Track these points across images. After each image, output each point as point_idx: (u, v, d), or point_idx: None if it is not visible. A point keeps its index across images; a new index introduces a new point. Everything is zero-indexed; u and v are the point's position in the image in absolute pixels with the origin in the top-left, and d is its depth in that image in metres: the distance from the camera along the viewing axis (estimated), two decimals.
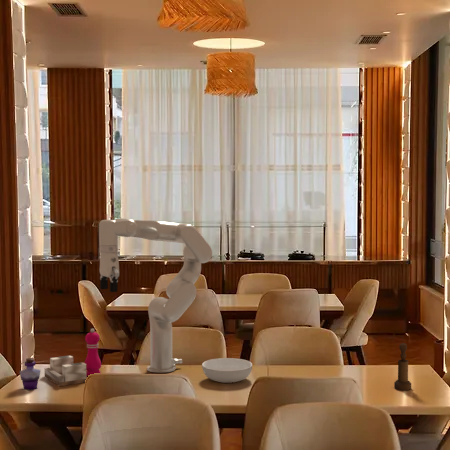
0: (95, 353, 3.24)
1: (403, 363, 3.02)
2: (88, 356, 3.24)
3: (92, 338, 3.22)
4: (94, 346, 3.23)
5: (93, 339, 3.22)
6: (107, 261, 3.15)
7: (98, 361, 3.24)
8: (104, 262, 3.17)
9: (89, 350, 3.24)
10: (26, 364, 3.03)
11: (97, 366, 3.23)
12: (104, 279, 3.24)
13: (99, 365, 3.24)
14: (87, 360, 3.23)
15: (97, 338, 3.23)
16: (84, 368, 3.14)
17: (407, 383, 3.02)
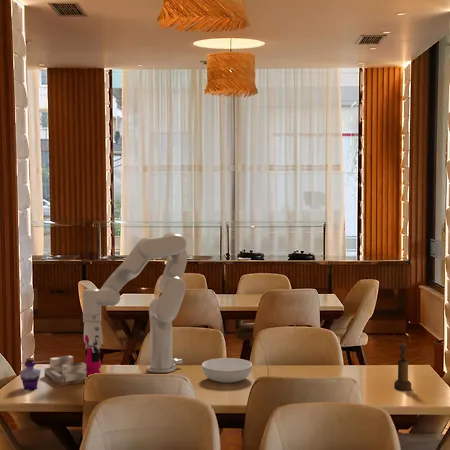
0: None
1: (403, 363, 3.02)
2: (88, 356, 3.24)
3: None
4: None
5: None
6: (91, 330, 3.20)
7: None
8: (87, 331, 3.22)
9: (89, 350, 3.24)
10: (26, 364, 3.03)
11: (97, 366, 3.23)
12: None
13: (99, 365, 3.24)
14: (87, 360, 3.23)
15: None
16: (84, 368, 3.14)
17: (407, 383, 3.02)
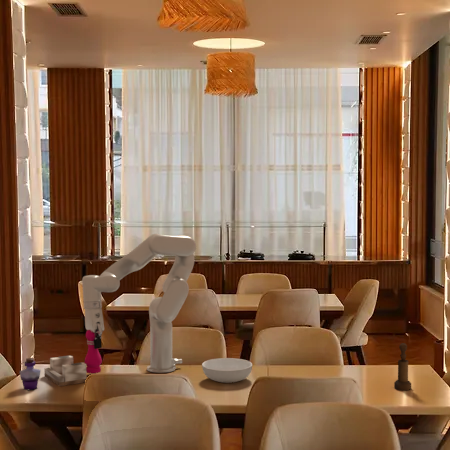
0: (95, 349, 3.24)
1: (403, 363, 3.02)
2: (88, 352, 3.24)
3: (93, 334, 3.22)
4: None
5: (93, 335, 3.22)
6: (92, 316, 3.20)
7: (98, 357, 3.24)
8: (89, 318, 3.22)
9: (89, 346, 3.23)
10: (26, 364, 3.03)
11: (97, 362, 3.23)
12: None
13: (99, 361, 3.24)
14: (88, 357, 3.23)
15: None
16: (84, 368, 3.14)
17: (407, 383, 3.02)
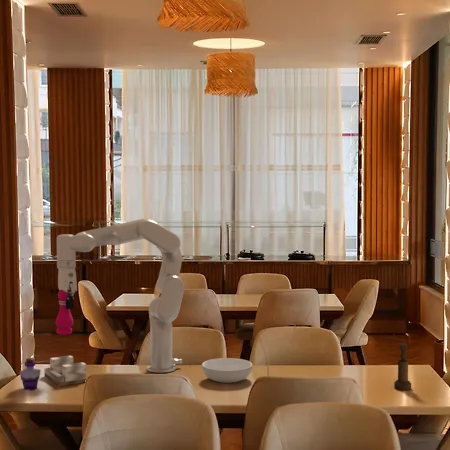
0: (67, 310, 3.17)
1: (403, 363, 3.02)
2: (60, 313, 3.16)
3: (65, 294, 3.15)
4: None
5: None
6: (65, 276, 3.13)
7: (70, 318, 3.17)
8: (61, 277, 3.15)
9: (61, 307, 3.16)
10: (26, 364, 3.03)
11: (69, 323, 3.16)
12: None
13: (71, 322, 3.17)
14: (59, 317, 3.16)
15: None
16: (84, 368, 3.14)
17: (407, 383, 3.02)
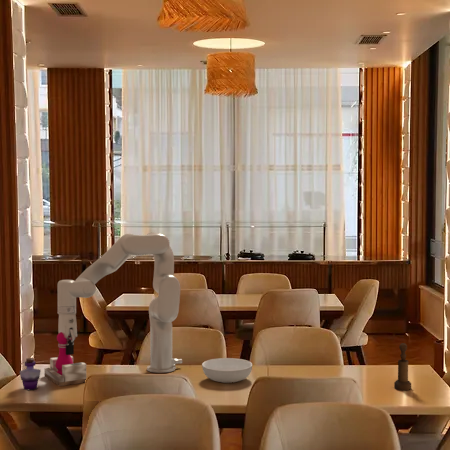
0: None
1: (403, 363, 3.02)
2: (59, 356, 3.17)
3: (64, 337, 3.16)
4: None
5: (64, 339, 3.16)
6: (65, 322, 3.14)
7: (70, 361, 3.18)
8: (62, 323, 3.16)
9: (60, 350, 3.17)
10: (26, 364, 3.03)
11: None
12: None
13: None
14: (59, 360, 3.17)
15: None
16: (84, 368, 3.14)
17: (407, 383, 3.02)
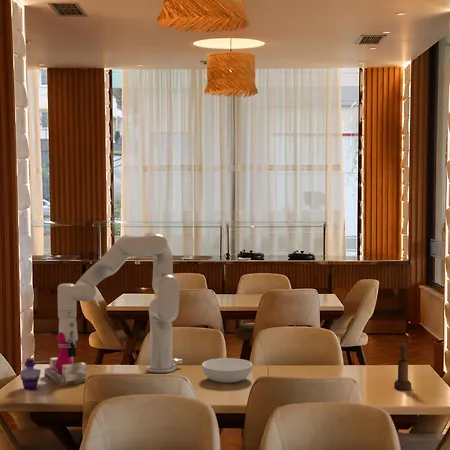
0: (67, 353, 3.18)
1: (403, 363, 3.02)
2: (59, 356, 3.17)
3: None
4: (66, 346, 3.17)
5: None
6: (65, 326, 3.14)
7: (70, 361, 3.18)
8: (62, 327, 3.16)
9: (61, 350, 3.17)
10: (26, 364, 3.03)
11: None
12: None
13: None
14: (59, 360, 3.17)
15: None
16: (84, 368, 3.14)
17: (407, 383, 3.02)
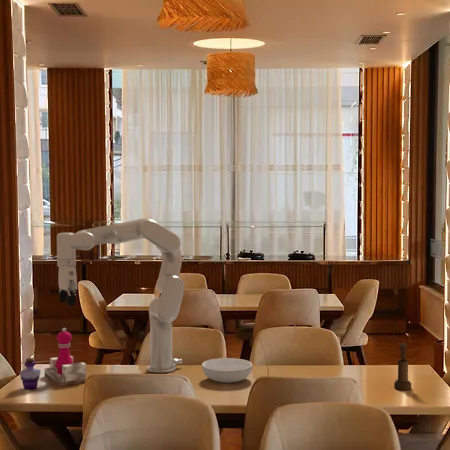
0: (67, 353, 3.18)
1: (403, 363, 3.02)
2: (60, 356, 3.17)
3: (64, 337, 3.16)
4: (66, 346, 3.17)
5: (65, 338, 3.16)
6: (65, 274, 3.13)
7: (70, 361, 3.18)
8: (62, 275, 3.15)
9: (61, 350, 3.17)
10: (26, 364, 3.03)
11: None
12: (63, 292, 3.22)
13: None
14: (59, 360, 3.17)
15: (69, 337, 3.17)
16: (84, 368, 3.14)
17: (407, 383, 3.02)
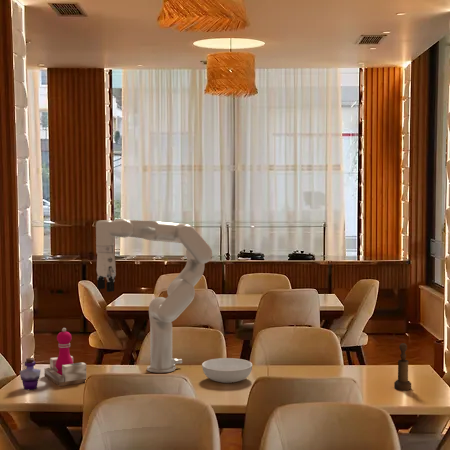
0: (67, 353, 3.18)
1: (403, 363, 3.02)
2: (59, 356, 3.17)
3: (64, 337, 3.16)
4: (66, 346, 3.17)
5: (65, 338, 3.16)
6: (104, 261, 3.19)
7: (70, 361, 3.18)
8: (101, 262, 3.21)
9: (61, 350, 3.17)
10: (26, 364, 3.03)
11: None
12: (101, 279, 3.27)
13: None
14: (59, 360, 3.17)
15: (69, 337, 3.17)
16: (84, 368, 3.14)
17: (407, 383, 3.02)
